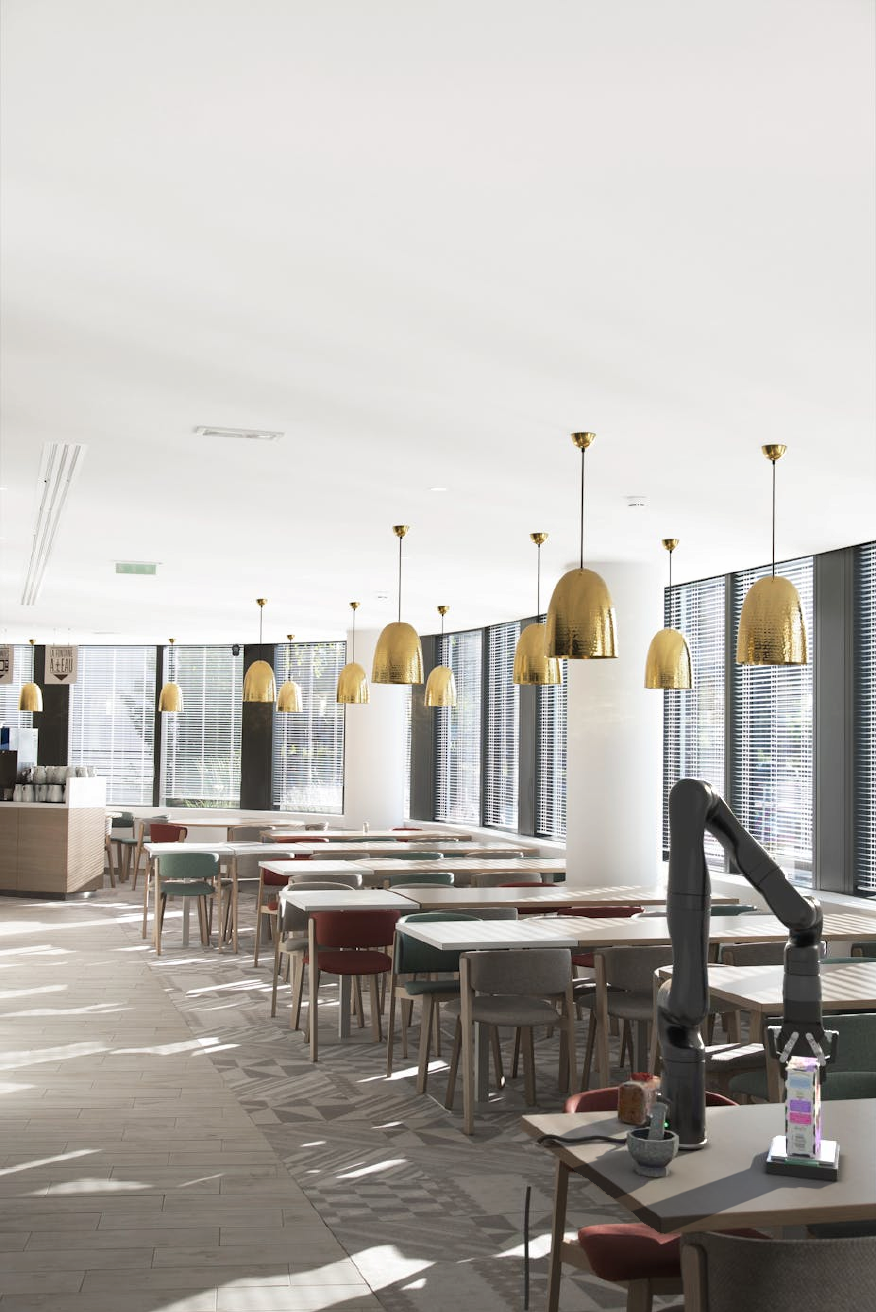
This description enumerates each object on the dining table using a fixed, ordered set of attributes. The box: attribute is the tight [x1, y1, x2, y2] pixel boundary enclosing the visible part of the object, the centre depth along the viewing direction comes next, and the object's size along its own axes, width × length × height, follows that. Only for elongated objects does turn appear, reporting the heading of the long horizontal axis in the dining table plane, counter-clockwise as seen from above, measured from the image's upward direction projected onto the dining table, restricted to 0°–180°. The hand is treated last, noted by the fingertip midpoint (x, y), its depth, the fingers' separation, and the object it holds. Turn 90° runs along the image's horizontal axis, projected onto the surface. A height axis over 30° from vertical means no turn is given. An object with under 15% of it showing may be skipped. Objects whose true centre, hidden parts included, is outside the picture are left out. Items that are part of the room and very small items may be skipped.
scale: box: [765, 1135, 841, 1182], centre depth 247 cm, size 18×13×3 cm
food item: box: [617, 1072, 660, 1126], centre depth 281 cm, size 14×8×10 cm, turn 149°
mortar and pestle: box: [626, 1102, 679, 1178], centre depth 242 cm, size 11×9×12 cm
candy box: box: [784, 1055, 822, 1158], centre depth 249 cm, size 14×6×16 cm, turn 159°
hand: (803, 1082), depth 250 cm, fingers closed on candy box, 6 cm apart
